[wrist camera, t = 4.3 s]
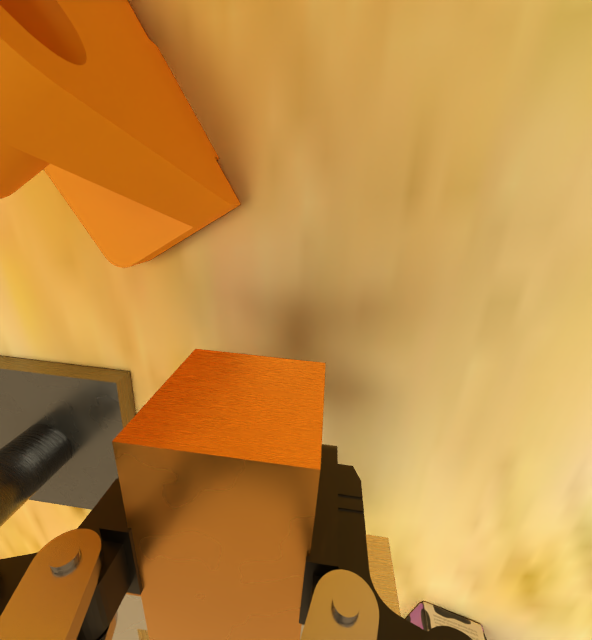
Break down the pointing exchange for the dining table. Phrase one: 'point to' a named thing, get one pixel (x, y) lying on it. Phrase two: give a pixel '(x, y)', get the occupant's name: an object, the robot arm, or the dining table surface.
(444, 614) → the candy box
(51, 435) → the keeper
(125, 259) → the bracket
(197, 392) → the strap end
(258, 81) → the dining table surface
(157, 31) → the dining table surface
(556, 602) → the dining table surface
